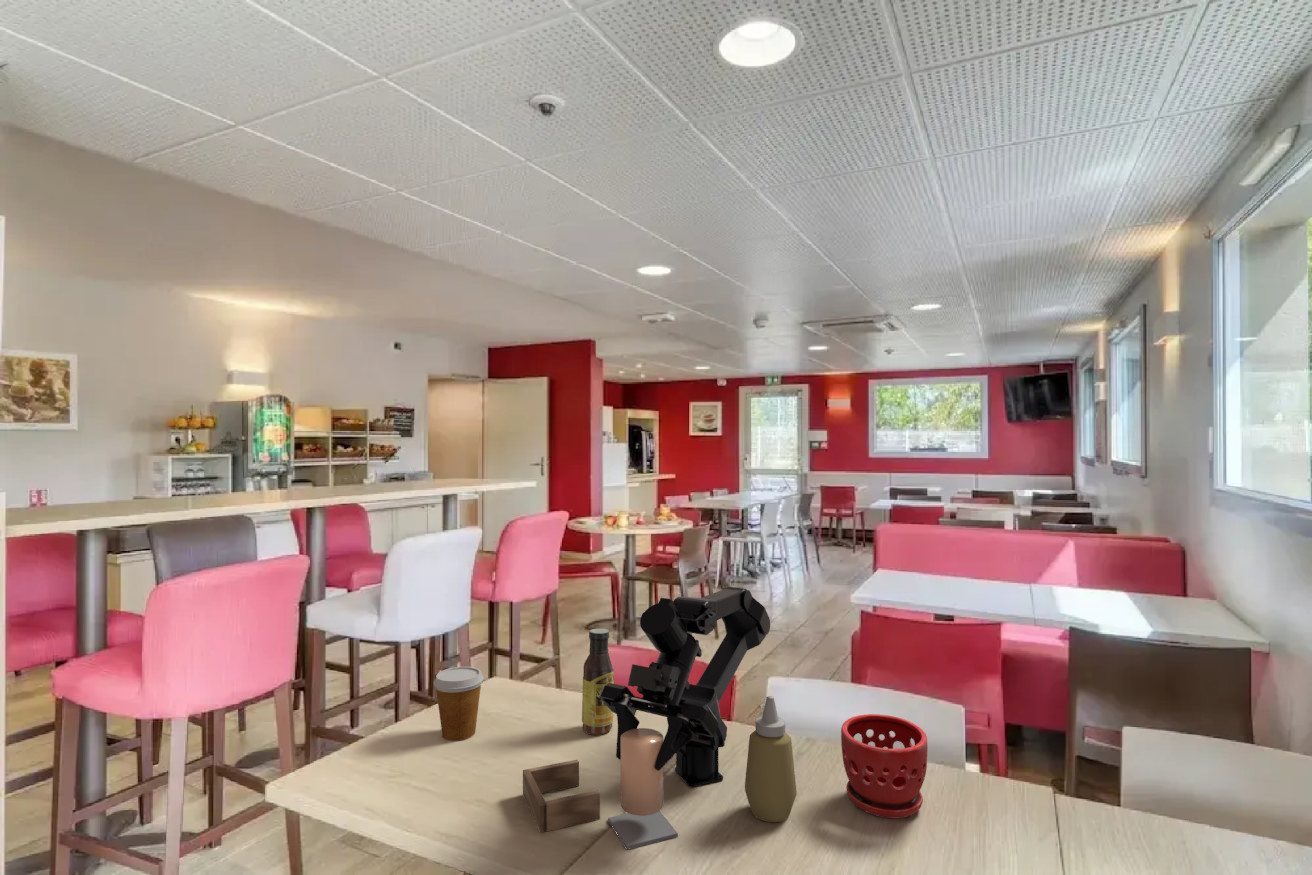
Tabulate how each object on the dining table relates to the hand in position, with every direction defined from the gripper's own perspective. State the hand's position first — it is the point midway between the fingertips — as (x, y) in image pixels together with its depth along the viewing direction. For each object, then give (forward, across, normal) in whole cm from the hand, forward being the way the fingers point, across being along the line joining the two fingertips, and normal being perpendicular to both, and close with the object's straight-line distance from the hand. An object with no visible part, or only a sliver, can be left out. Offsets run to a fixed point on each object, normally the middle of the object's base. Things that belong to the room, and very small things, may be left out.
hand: (637, 763), depth 101 cm
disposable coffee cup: (0, -49, +15) cm, 51 cm away
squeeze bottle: (-3, +15, +18) cm, 24 cm away
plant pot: (-11, +30, +26) cm, 41 cm away
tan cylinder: (+4, 0, +6) cm, 7 cm away
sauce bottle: (-11, -26, +26) cm, 39 cm away
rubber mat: (+6, 0, +8) cm, 10 cm away
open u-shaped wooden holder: (+7, -14, +7) cm, 18 cm away
